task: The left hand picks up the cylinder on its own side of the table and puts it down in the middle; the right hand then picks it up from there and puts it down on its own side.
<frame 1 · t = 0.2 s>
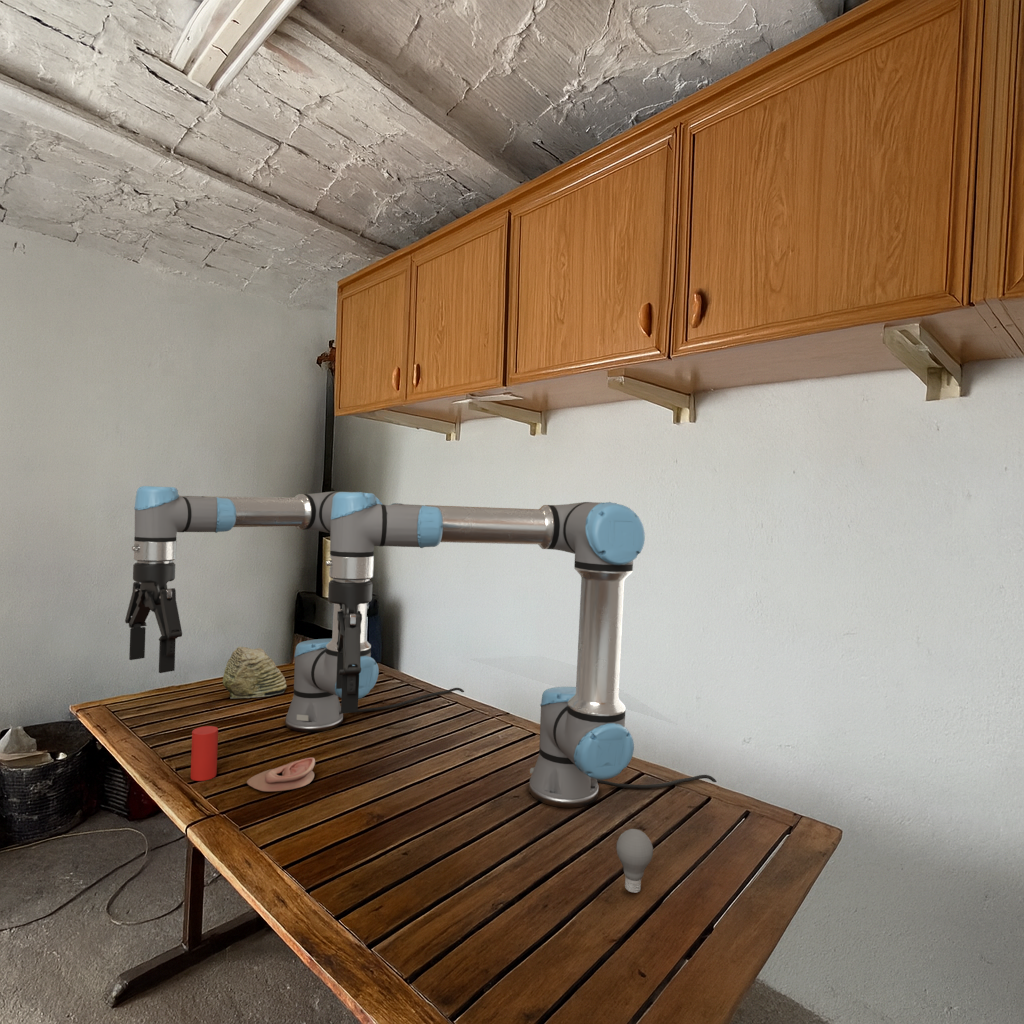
left hand: (151, 665, 130), 27 cm above the table, tool pointing down, fingers open, 13 cm apart
right hand: (346, 699, 112), 28 cm above the table, tool pointing down, fingers open, 13 cm apart
anatomical model: (281, 781, 140), on the table
light bulb: (632, 891, 106), on the table
fossil: (254, 694, 198), on the table
cylinder: (203, 775, 141), on the table
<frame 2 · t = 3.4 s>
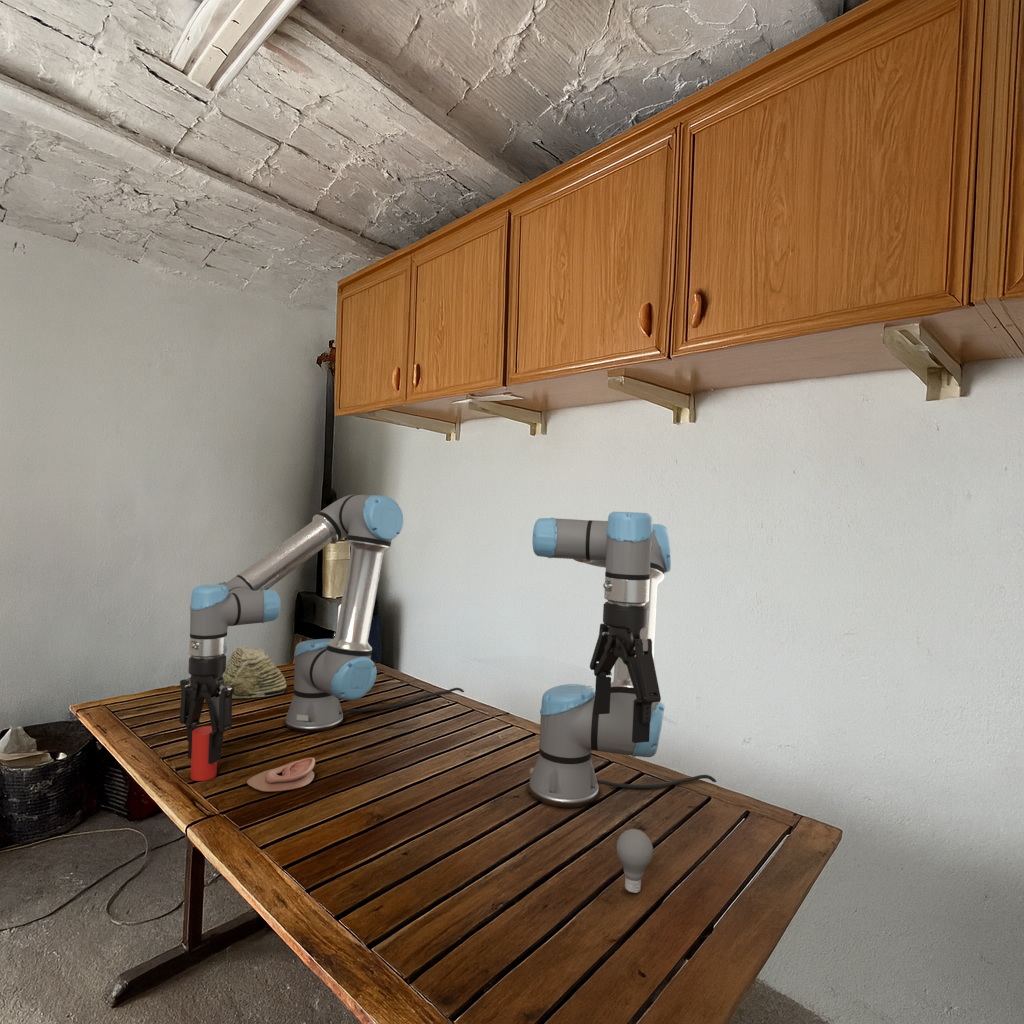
left hand: (204, 758, 141), 4 cm above the table, tool pointing down, fingers closed on cylinder, 5 cm apart
right hand: (620, 726, 108), 27 cm above the table, tool pointing down, fingers open, 13 cm apart
cylinder: (203, 775, 141), on the table, touching left hand
everything else where it was.
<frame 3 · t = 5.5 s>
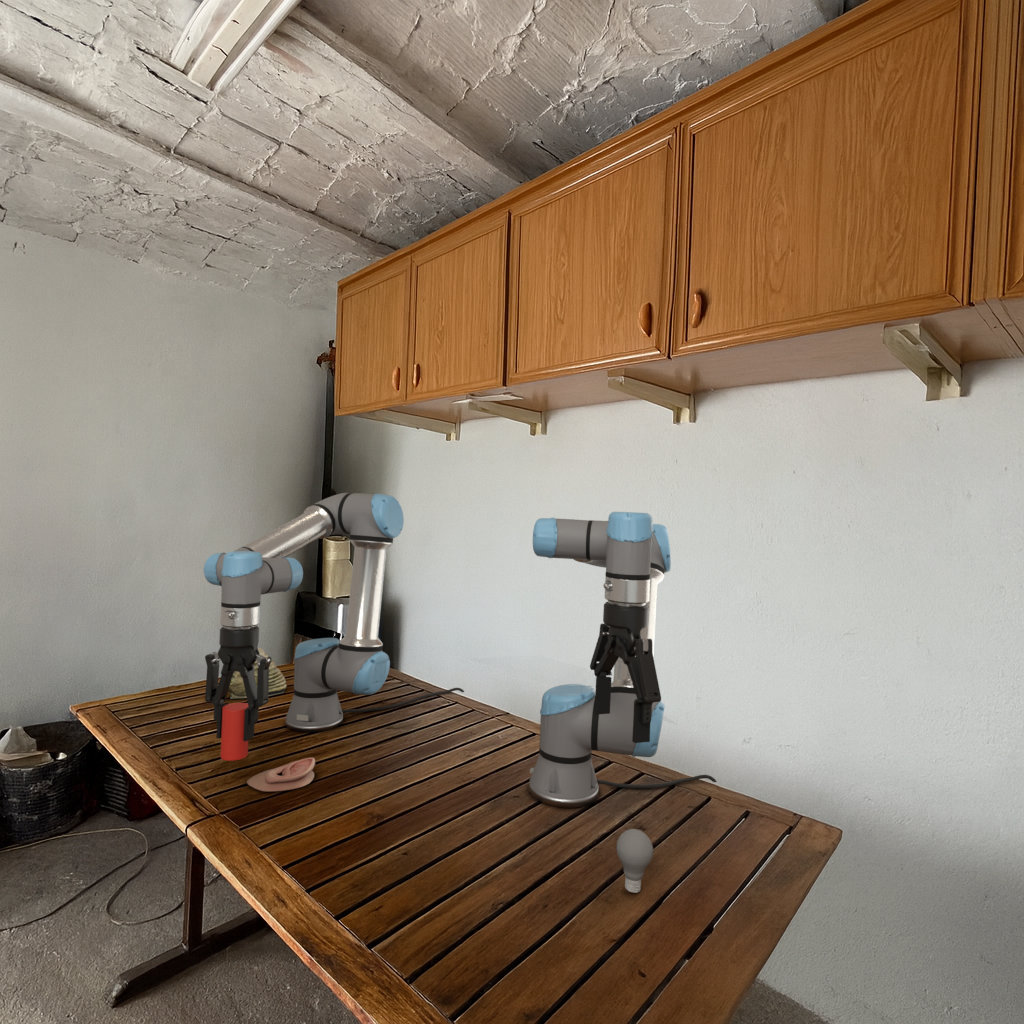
left hand: (235, 737, 132), 13 cm above the table, tool pointing down, fingers closed on cylinder, 5 cm apart
right hand: (620, 726, 108), 27 cm above the table, tool pointing down, fingers open, 13 cm apart
cylinder: (234, 755, 132), point 9 cm above the table, touching left hand
everything else where it was.
when the left hand's fingers open (6 cm above the table, at t = 7.9 s): cylinder drops 2 cm, on the table.
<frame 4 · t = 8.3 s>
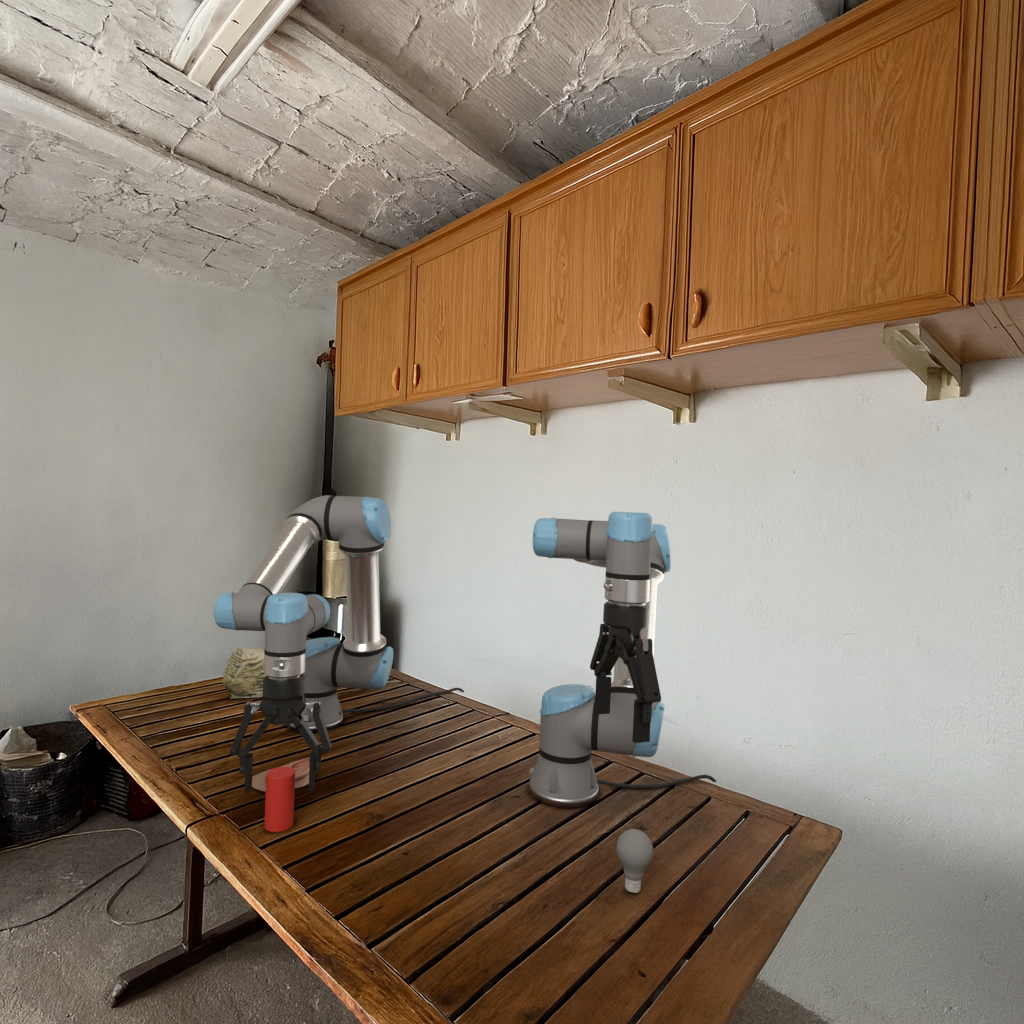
left hand: (280, 788, 122), 7 cm above the table, tool pointing down, fingers open, 11 cm apart
right hand: (620, 726, 108), 27 cm above the table, tool pointing down, fingers open, 13 cm apart
cylinder: (278, 825, 122), on the table
everything else where it was.
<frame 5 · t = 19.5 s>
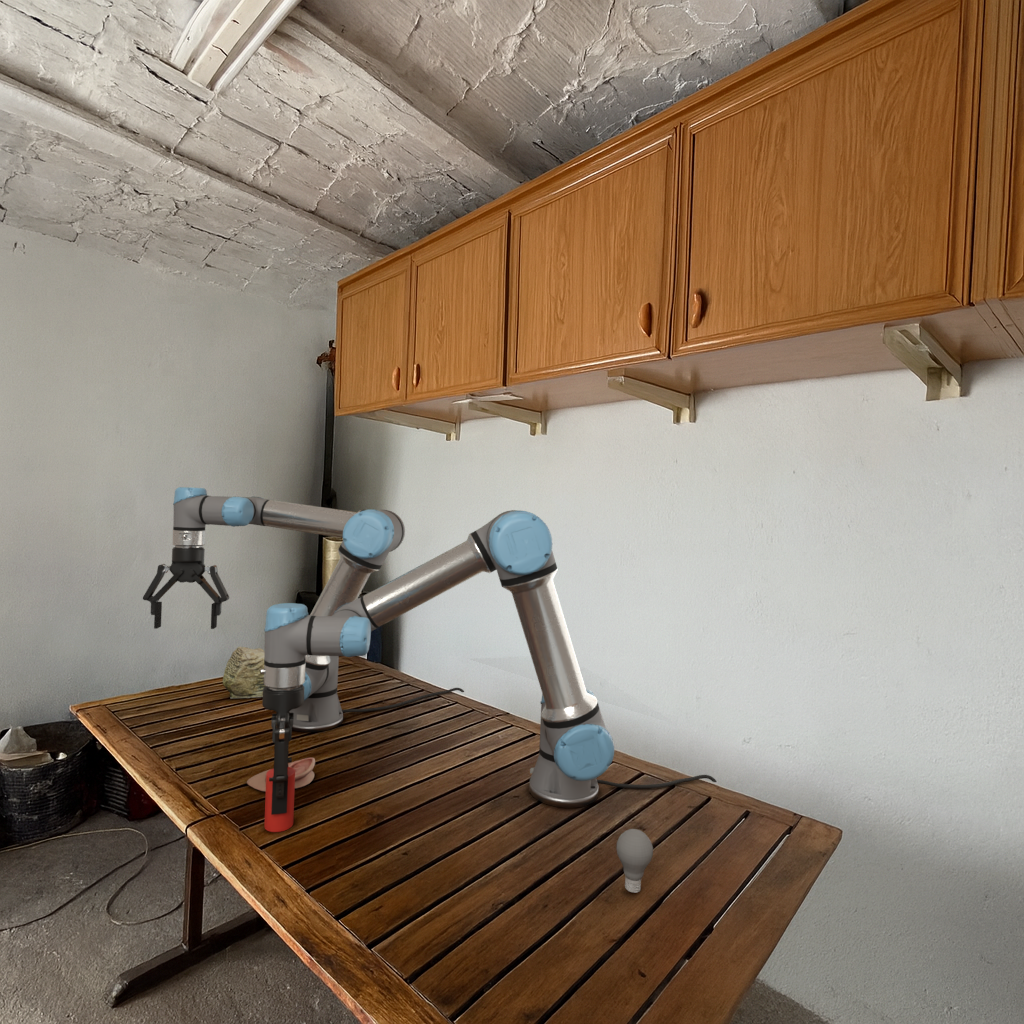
left hand: (185, 627, 165), 27 cm above the table, tool pointing down, fingers open, 13 cm apart
right hand: (279, 805, 122), 4 cm above the table, tool pointing down, fingers closed on cylinder, 5 cm apart
cylinder: (278, 825, 122), on the table, touching right hand
everything else where it was.
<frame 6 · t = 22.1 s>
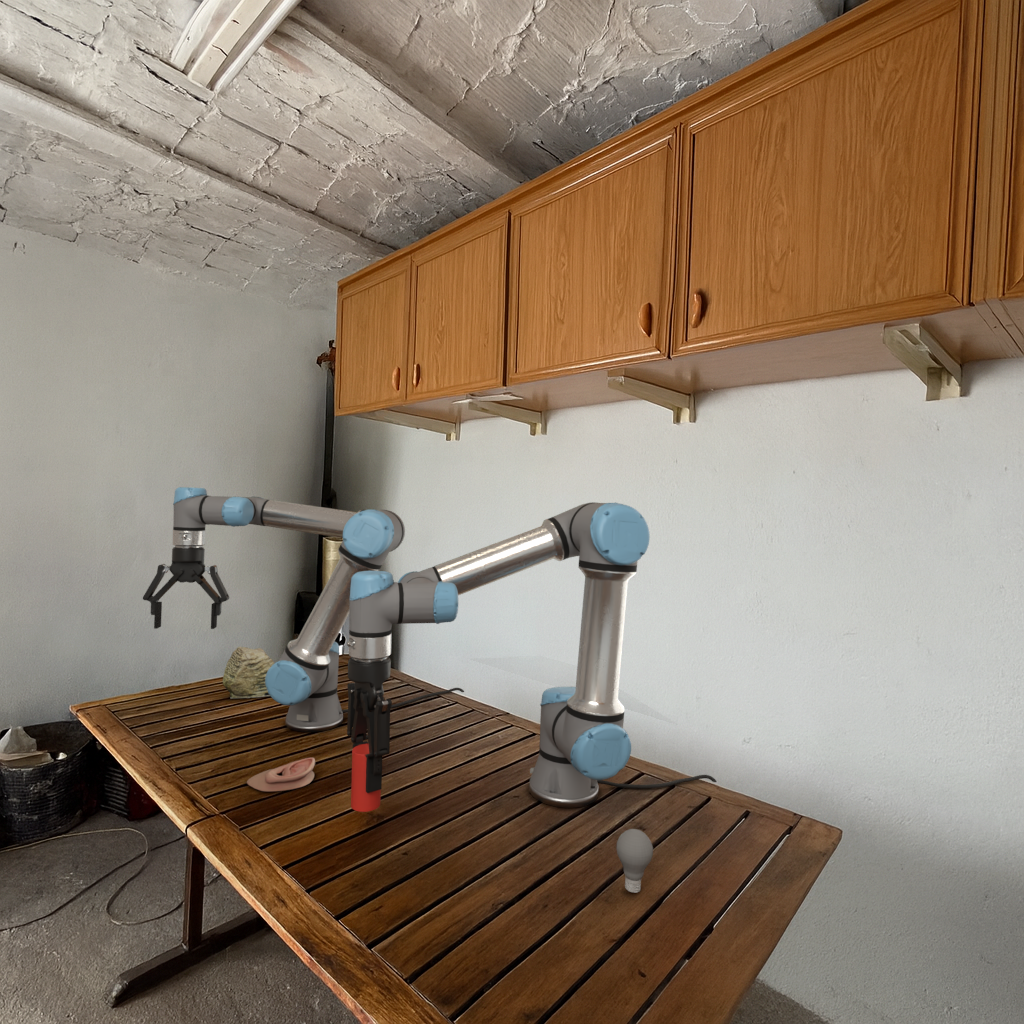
left hand: (185, 627, 165), 27 cm above the table, tool pointing down, fingers open, 13 cm apart
right hand: (366, 783, 115), 12 cm above the table, tool pointing down, fingers closed on cylinder, 5 cm apart
cylinder: (365, 804, 115), point 8 cm above the table, touching right hand
everything else where it was.
when the right hand's fingers open (6 cm above the table, at t = 24.7 s): cylinder drops 2 cm, on the table.
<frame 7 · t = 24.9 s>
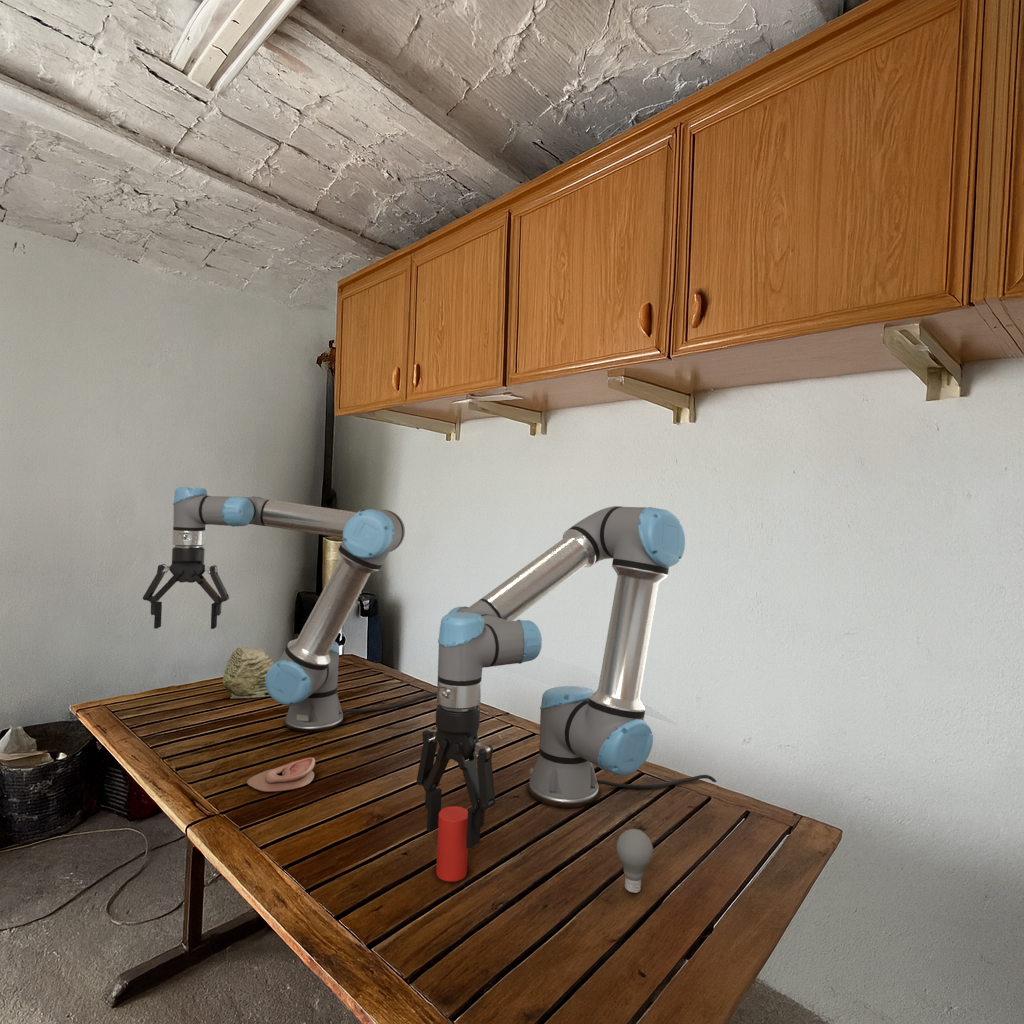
left hand: (185, 627, 165), 27 cm above the table, tool pointing down, fingers open, 13 cm apart
right hand: (452, 836, 109), 6 cm above the table, tool pointing down, fingers open, 8 cm apart
cylinder: (451, 872, 109), on the table
everything else where it was.
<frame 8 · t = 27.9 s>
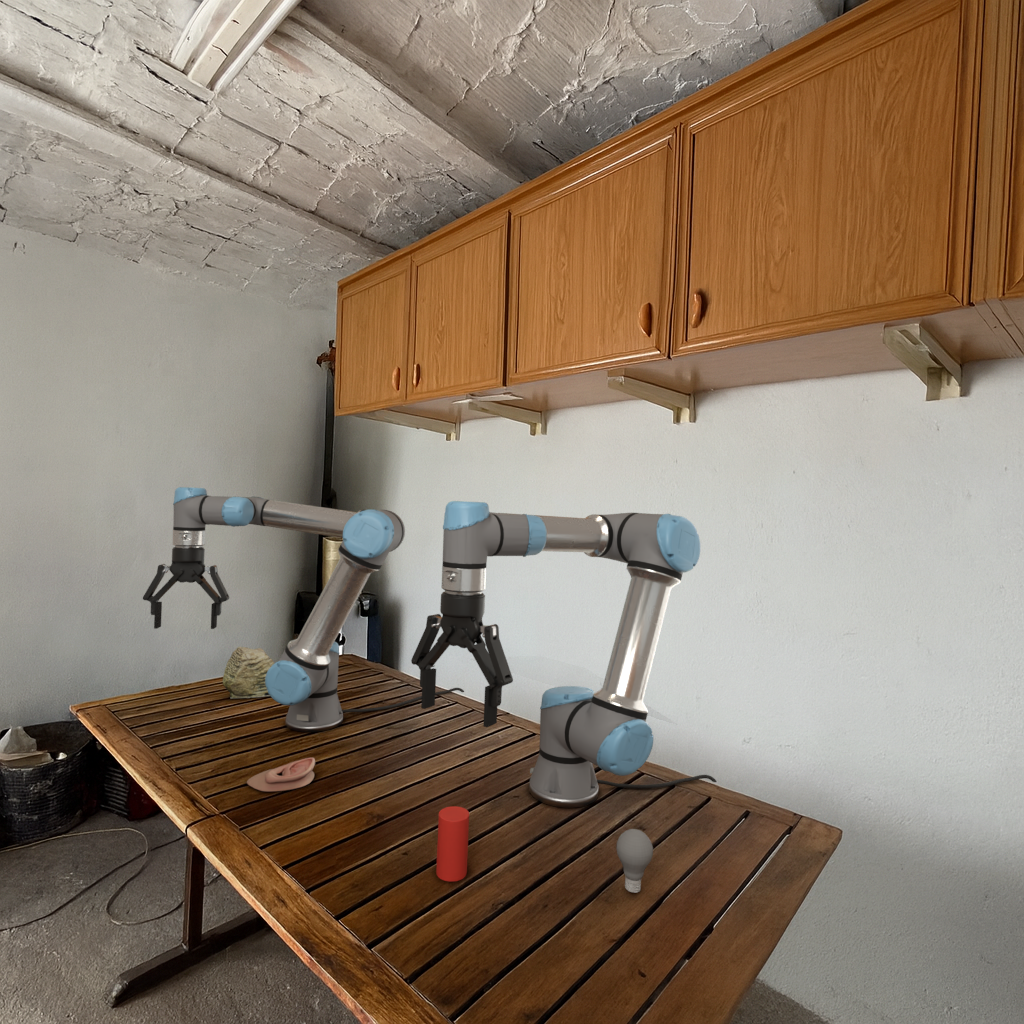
left hand: (185, 627, 165), 27 cm above the table, tool pointing down, fingers open, 13 cm apart
right hand: (457, 715, 108), 27 cm above the table, tool pointing down, fingers open, 13 cm apart
nothing on the table moved.
at the end: cylinder inside the target area (0.1 cm from its centre), on the table; cylinder tilted 0°; the two hands never held the cylinder at the same time; the left hand is holding nothing; the right hand is holding nothing; cylinder at rest at the end (0.0 cm/s) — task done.
